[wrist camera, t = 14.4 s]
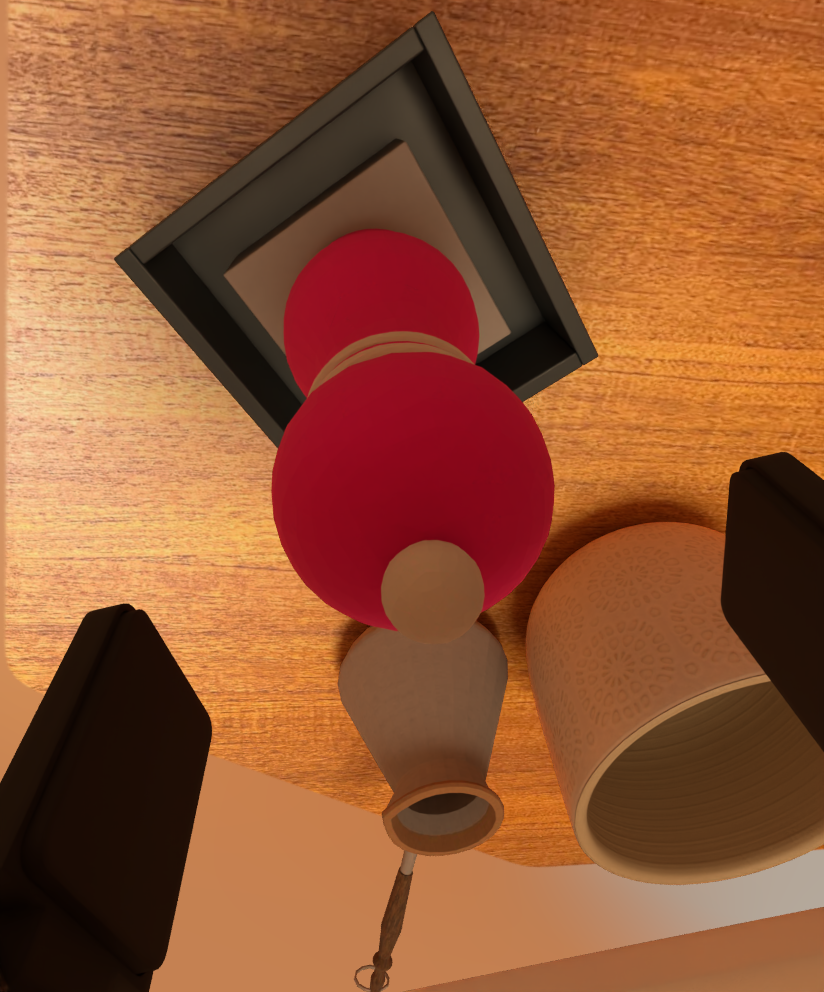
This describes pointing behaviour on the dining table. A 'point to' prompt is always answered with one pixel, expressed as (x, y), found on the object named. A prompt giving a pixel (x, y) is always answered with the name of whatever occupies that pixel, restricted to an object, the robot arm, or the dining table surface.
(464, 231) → the dark square tray
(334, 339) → the pepper mill
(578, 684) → the planter
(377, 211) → the brown square block
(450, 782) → the coffee pot
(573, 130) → the dining table surface
